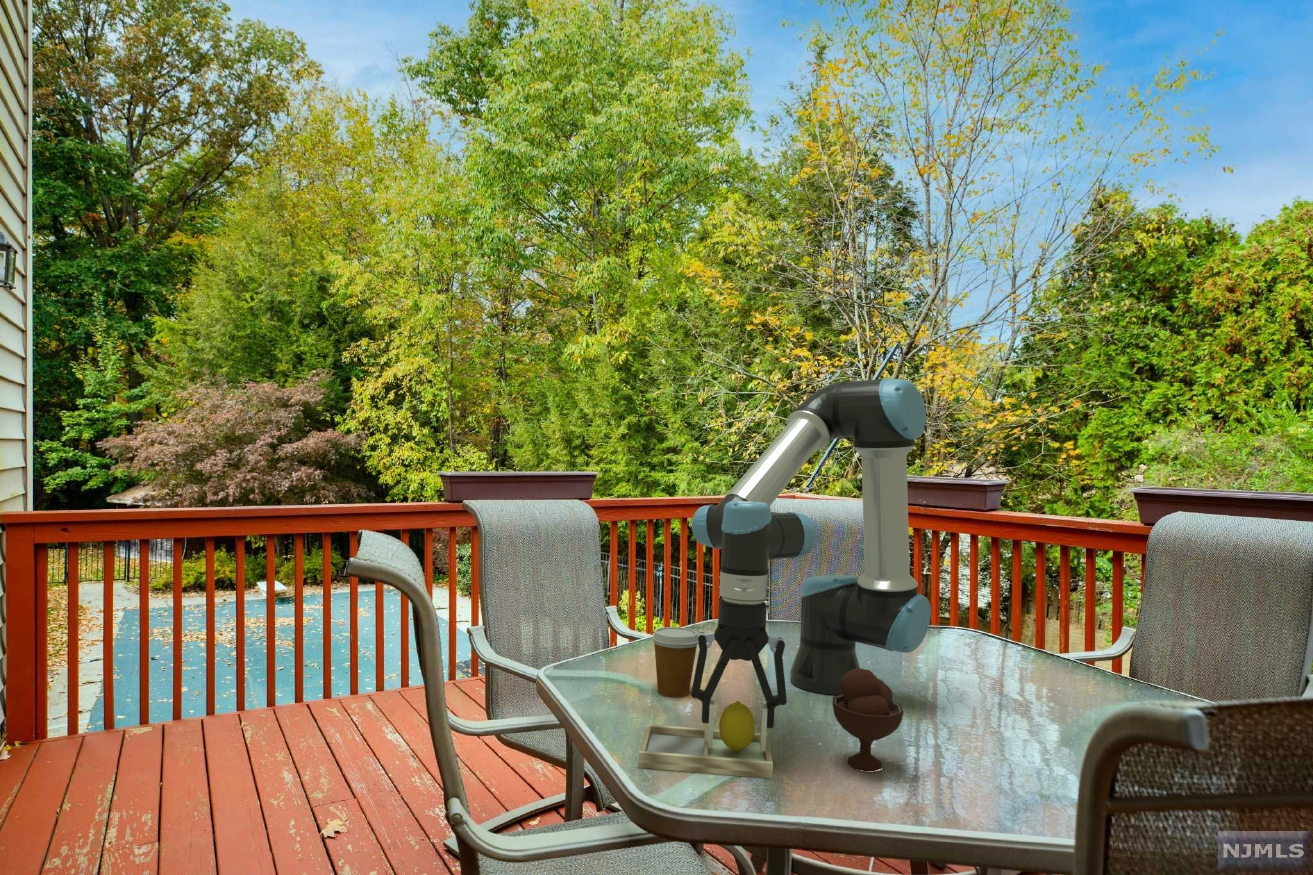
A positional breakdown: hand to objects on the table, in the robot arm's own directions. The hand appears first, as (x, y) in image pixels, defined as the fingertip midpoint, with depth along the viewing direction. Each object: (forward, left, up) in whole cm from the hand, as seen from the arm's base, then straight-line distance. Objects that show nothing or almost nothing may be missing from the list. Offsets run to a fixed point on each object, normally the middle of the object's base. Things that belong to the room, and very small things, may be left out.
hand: (736, 745), depth 115 cm
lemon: (0, 0, -1) cm, 1 cm away
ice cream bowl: (-20, -2, -2) cm, 20 cm away
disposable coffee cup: (+12, -31, -2) cm, 33 cm away
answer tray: (+5, 0, -2) cm, 5 cm away
